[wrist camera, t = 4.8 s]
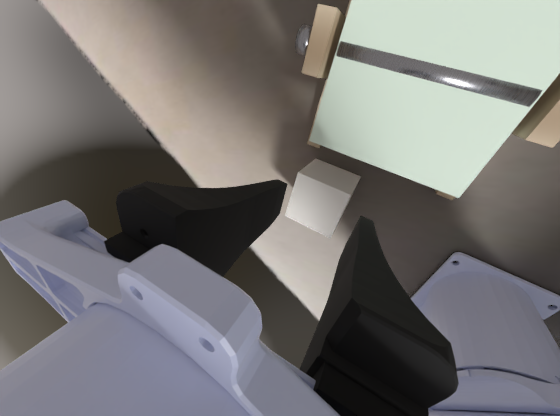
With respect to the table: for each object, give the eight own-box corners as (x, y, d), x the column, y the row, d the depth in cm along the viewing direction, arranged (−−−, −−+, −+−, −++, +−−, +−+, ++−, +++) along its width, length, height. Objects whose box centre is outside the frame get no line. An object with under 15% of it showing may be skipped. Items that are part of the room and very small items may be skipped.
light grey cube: (342, 215, 23) (330, 238, 19) (303, 196, 24) (284, 215, 21) (361, 176, 20) (351, 195, 17) (316, 158, 22) (297, 172, 18)
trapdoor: (452, 183, 14) (459, 198, 12) (320, 134, 16) (308, 141, 14) (624, -46, 8) (690, -86, 6) (386, -70, 11) (382, -104, 9)
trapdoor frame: (459, 199, 18) (480, 247, 12) (303, 139, 21) (270, 157, 16) (673, -65, 10) (969, -231, 5) (369, -89, 13) (345, -198, 8)
